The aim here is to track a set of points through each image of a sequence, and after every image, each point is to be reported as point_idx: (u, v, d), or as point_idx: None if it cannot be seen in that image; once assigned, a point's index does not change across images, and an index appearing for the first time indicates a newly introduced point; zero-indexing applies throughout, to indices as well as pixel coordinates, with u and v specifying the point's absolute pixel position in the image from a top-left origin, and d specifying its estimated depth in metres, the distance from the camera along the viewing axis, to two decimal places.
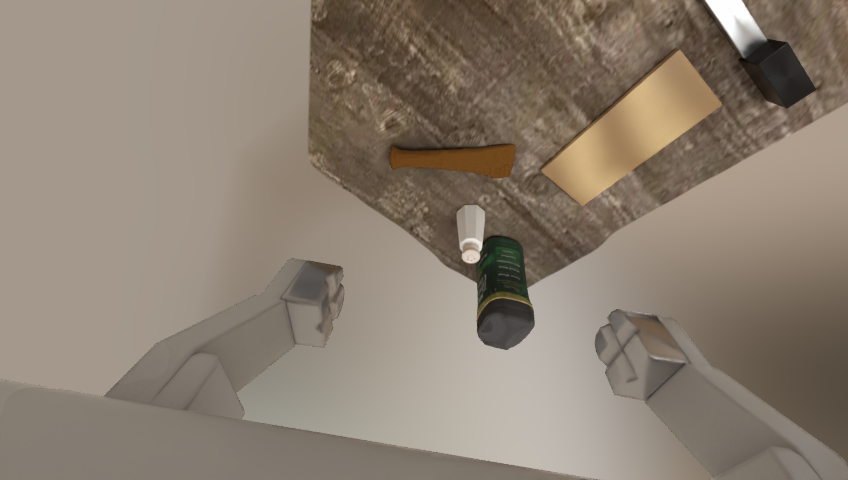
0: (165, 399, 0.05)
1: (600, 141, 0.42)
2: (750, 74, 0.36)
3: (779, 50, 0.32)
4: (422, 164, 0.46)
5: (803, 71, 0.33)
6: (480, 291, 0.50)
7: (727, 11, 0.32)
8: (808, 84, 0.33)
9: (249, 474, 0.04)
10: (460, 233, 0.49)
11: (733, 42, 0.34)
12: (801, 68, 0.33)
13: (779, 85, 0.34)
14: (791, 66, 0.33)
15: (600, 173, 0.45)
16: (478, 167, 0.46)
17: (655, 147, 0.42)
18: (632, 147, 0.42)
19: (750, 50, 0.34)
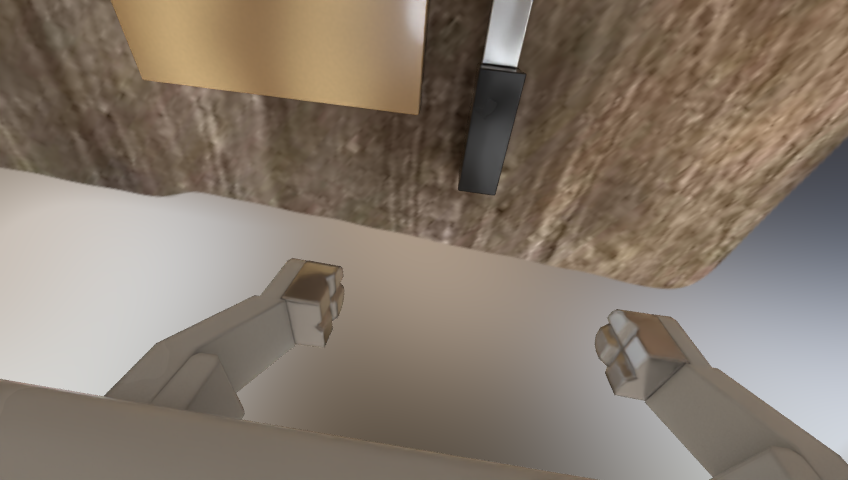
0: (165, 399, 0.05)
1: None
2: None
3: (511, 76, 0.17)
4: None
5: (504, 150, 0.19)
6: None
7: None
8: (494, 178, 0.20)
9: (249, 474, 0.04)
10: None
11: (491, 10, 0.17)
12: (506, 142, 0.19)
13: (474, 142, 0.19)
14: (502, 125, 0.18)
15: (198, 39, 0.19)
16: None
17: (306, 88, 0.20)
18: (273, 43, 0.19)
19: (495, 57, 0.18)
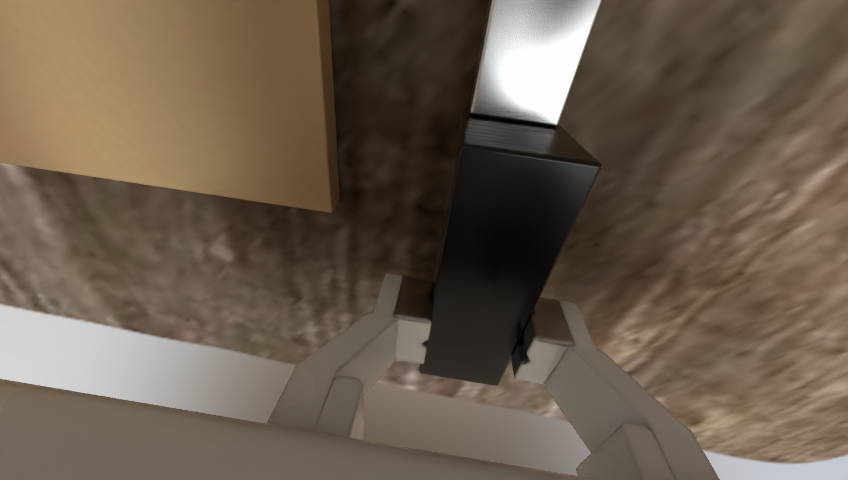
0: (327, 426, 0.05)
1: None
2: (446, 197, 0.09)
3: (556, 168, 0.06)
4: None
5: (523, 321, 0.08)
6: None
7: None
8: (498, 362, 0.09)
9: (249, 474, 0.04)
10: None
11: None
12: (529, 308, 0.08)
13: (450, 302, 0.08)
14: (520, 276, 0.07)
15: None
16: None
17: (78, 152, 0.09)
18: None
19: (503, 100, 0.07)
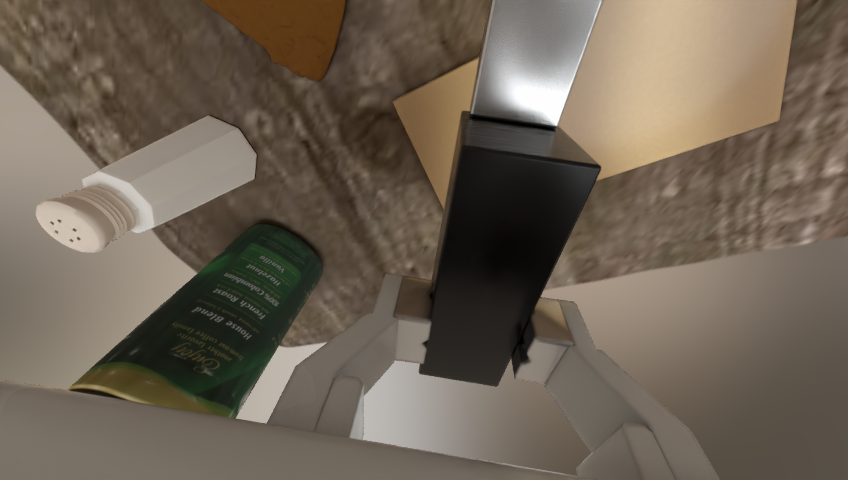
0: (327, 426, 0.05)
1: None
2: (446, 198, 0.09)
3: (557, 170, 0.06)
4: None
5: (523, 322, 0.08)
6: None
7: None
8: (498, 363, 0.09)
9: (249, 474, 0.04)
10: None
11: None
12: (529, 310, 0.08)
13: (450, 303, 0.08)
14: (520, 277, 0.07)
15: None
16: (232, 1, 0.16)
17: (625, 159, 0.19)
18: (588, 136, 0.19)
19: (503, 101, 0.07)
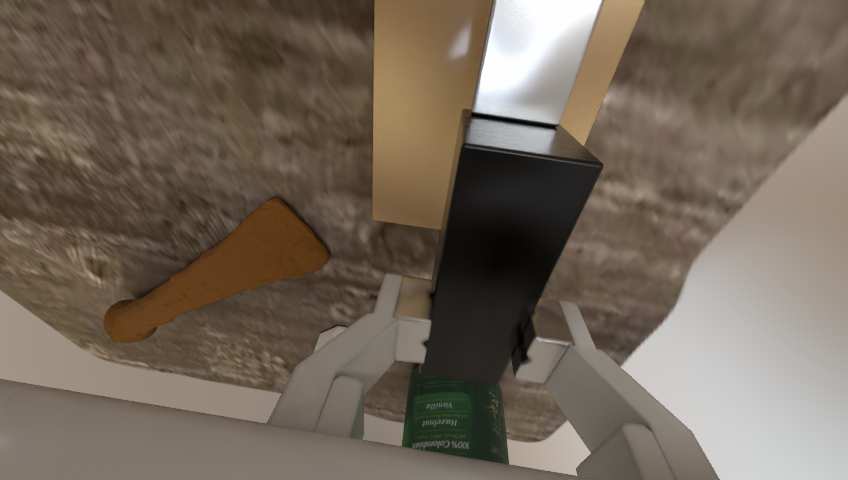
0: (328, 426, 0.05)
1: (439, 67, 0.13)
2: (446, 197, 0.09)
3: (558, 168, 0.05)
4: (162, 315, 0.22)
5: (524, 322, 0.08)
6: None
7: None
8: (498, 363, 0.09)
9: (249, 474, 0.04)
10: None
11: None
12: (529, 309, 0.07)
13: (451, 302, 0.08)
14: (521, 276, 0.07)
15: None
16: (253, 275, 0.20)
17: None
18: None
19: (504, 99, 0.07)
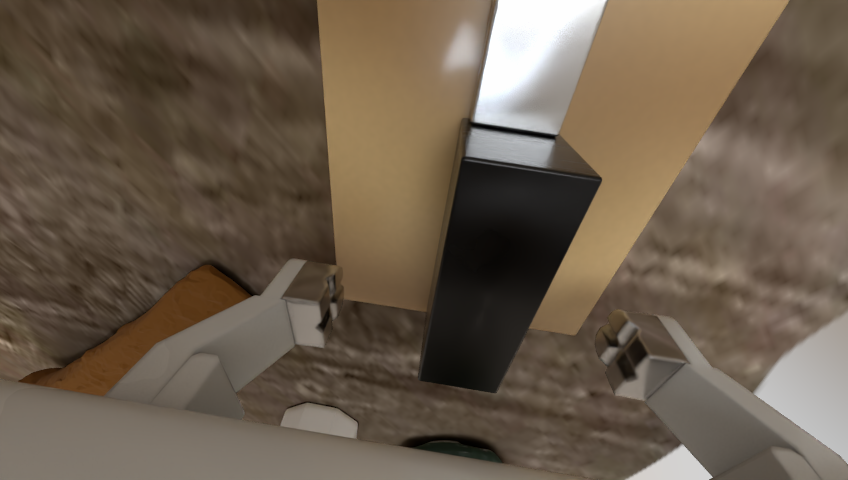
0: (165, 399, 0.05)
1: (427, 97, 0.08)
2: (446, 205, 0.09)
3: (557, 182, 0.06)
4: None
5: (523, 331, 0.08)
6: None
7: None
8: (497, 370, 0.09)
9: (249, 474, 0.04)
10: None
11: None
12: (528, 318, 0.07)
13: (450, 311, 0.08)
14: (520, 286, 0.07)
15: None
16: None
17: None
18: (620, 14, 0.07)
19: (504, 110, 0.07)
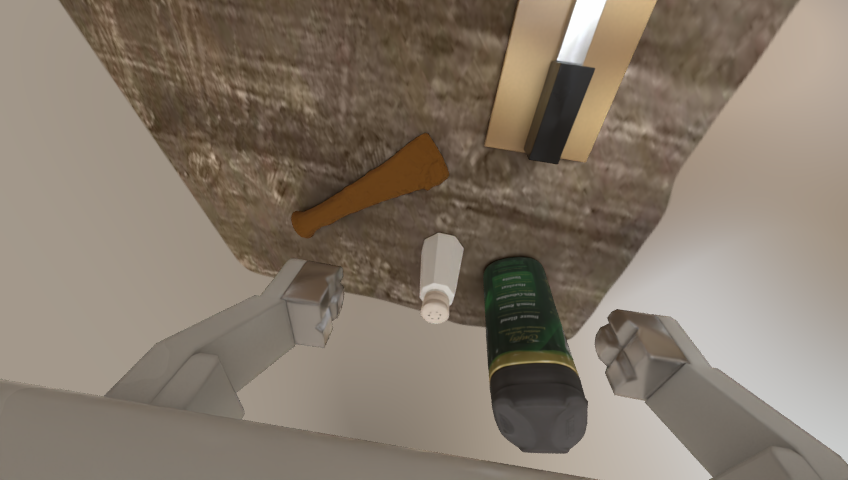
0: (165, 399, 0.05)
1: (541, 54, 0.25)
2: (542, 93, 0.26)
3: (584, 69, 0.22)
4: (332, 216, 0.34)
5: (570, 127, 0.25)
6: None
7: None
8: (559, 149, 0.26)
9: (249, 474, 0.04)
10: (420, 282, 0.33)
11: (568, 21, 0.23)
12: (573, 121, 0.24)
13: (548, 119, 0.25)
14: (571, 107, 0.24)
15: None
16: (400, 186, 0.32)
17: (643, 4, 0.22)
18: (601, 29, 0.24)
19: (567, 56, 0.24)
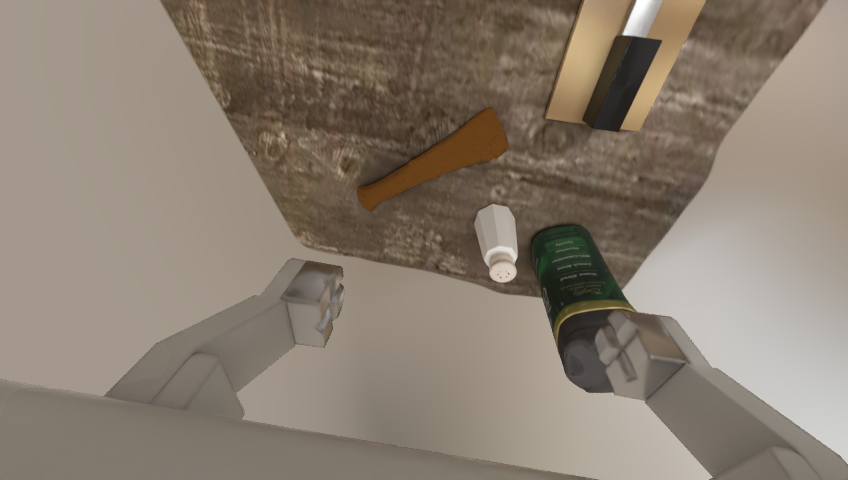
0: (165, 399, 0.05)
1: (606, 29, 0.27)
2: (605, 66, 0.28)
3: (652, 41, 0.25)
4: (396, 189, 0.37)
5: (634, 96, 0.27)
6: (547, 313, 0.34)
7: None
8: (622, 118, 0.28)
9: (249, 474, 0.04)
10: (481, 247, 0.36)
11: None
12: (637, 90, 0.27)
13: (614, 89, 0.27)
14: (637, 77, 0.26)
15: None
16: (462, 158, 0.35)
17: None
18: (664, 5, 0.26)
19: (632, 31, 0.27)
